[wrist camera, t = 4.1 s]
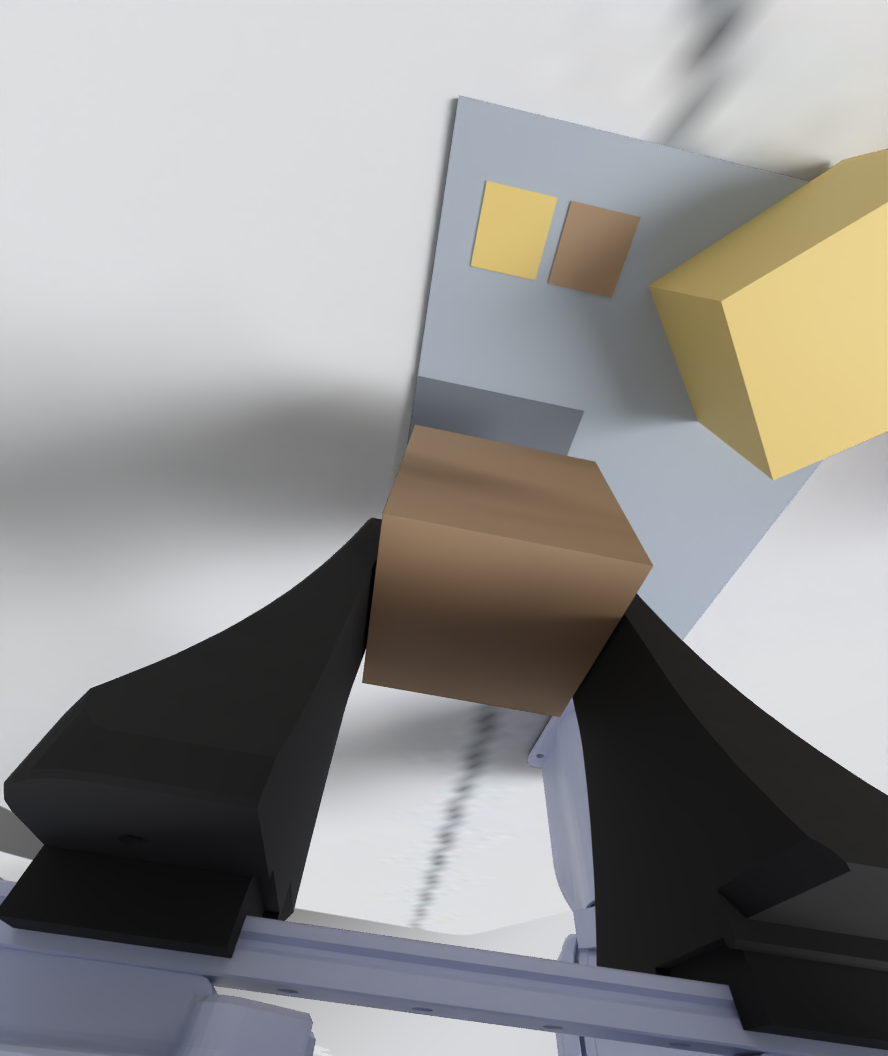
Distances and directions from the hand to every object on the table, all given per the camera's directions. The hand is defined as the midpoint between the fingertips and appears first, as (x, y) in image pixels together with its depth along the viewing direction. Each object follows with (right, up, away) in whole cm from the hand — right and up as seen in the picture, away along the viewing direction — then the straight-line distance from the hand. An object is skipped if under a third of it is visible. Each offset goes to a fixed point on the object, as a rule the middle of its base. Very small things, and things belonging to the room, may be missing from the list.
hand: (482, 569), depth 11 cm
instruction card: (+5, +4, +5) cm, 8 cm away
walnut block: (0, +1, +1) cm, 2 cm away
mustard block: (+9, +8, +1) cm, 12 cm away
